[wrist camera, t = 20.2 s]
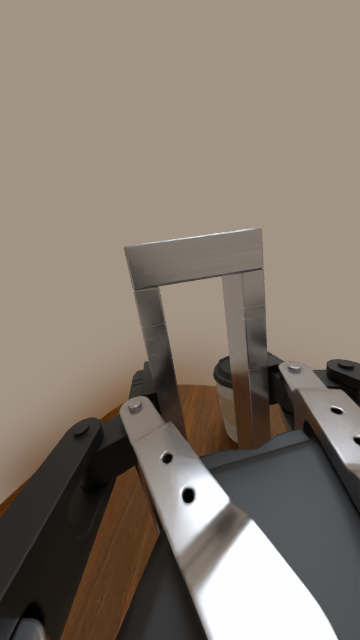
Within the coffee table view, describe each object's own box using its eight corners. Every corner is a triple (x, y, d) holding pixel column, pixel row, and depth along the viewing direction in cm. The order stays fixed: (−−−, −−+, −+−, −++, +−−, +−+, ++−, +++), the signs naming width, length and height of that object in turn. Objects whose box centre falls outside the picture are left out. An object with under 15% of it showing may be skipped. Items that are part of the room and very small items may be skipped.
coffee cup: (262, 412, 37) (260, 349, 34) (273, 454, 29) (271, 376, 25) (220, 410, 40) (213, 351, 36) (219, 447, 32) (209, 375, 28)
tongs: (261, 467, 13) (247, 238, 9) (285, 510, 10) (281, 223, 7) (171, 494, 12) (116, 257, 8) (176, 547, 10) (101, 248, 6)
